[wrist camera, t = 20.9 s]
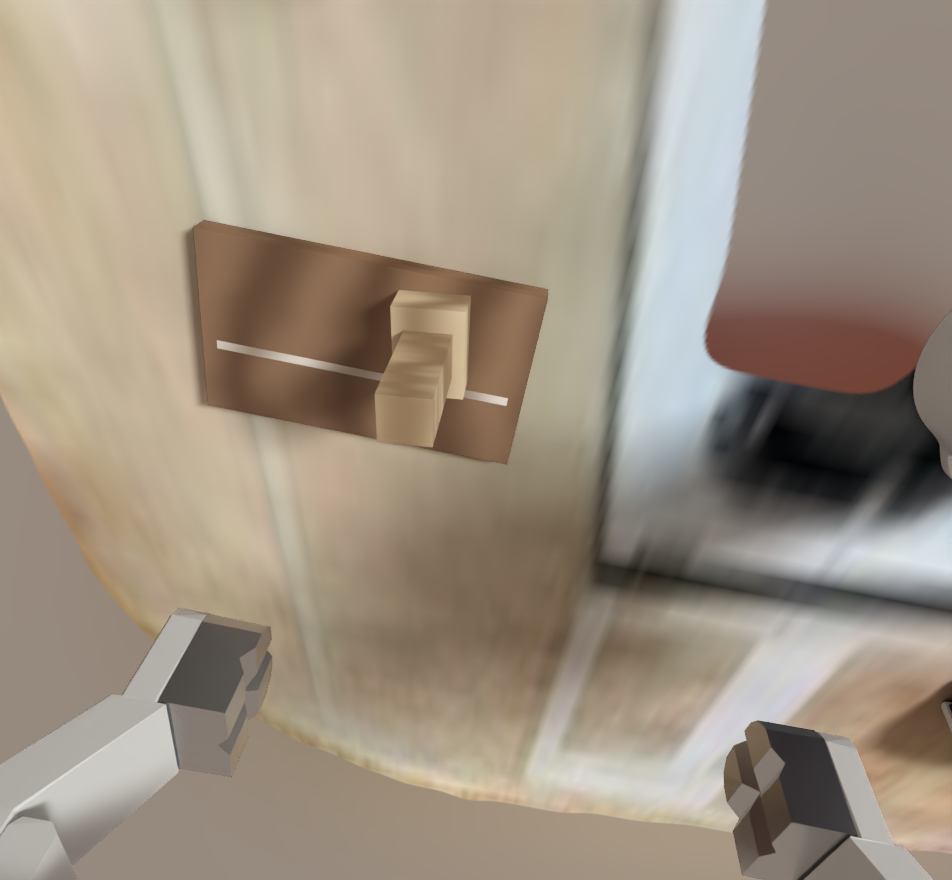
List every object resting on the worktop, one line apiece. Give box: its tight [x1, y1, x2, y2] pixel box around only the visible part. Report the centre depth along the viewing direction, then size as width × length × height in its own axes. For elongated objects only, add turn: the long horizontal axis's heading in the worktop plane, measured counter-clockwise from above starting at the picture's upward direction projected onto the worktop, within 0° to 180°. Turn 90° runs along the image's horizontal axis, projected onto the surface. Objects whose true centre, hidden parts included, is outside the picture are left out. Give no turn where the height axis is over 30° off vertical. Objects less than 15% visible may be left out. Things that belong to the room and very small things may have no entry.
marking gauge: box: [375, 290, 471, 447], centre depth 39 cm, size 4×6×10 cm
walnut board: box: [193, 220, 548, 464], centre depth 45 cm, size 22×13×2 cm, turn 80°
